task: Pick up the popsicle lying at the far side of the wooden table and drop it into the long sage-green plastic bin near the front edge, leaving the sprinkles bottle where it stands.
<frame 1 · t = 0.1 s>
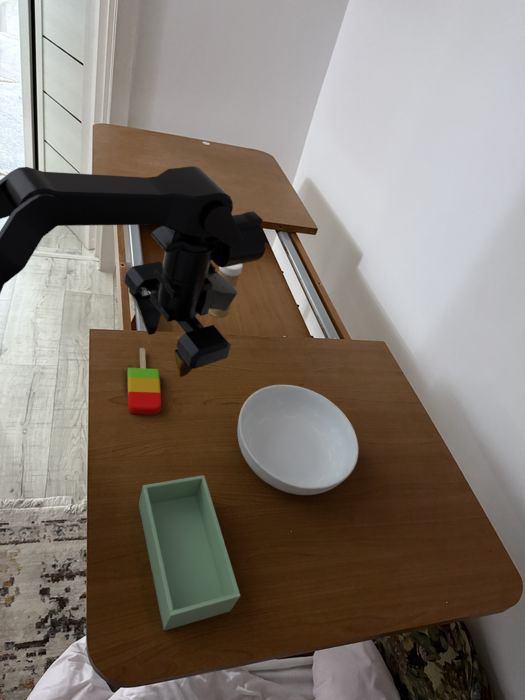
hand: (166, 353, 75), 16 cm above the table, tool pointing down, fingers open, 9 cm apart
serving bowl: (286, 455, 88), on the table
bin: (182, 555, 70), on the table
sprinkles bottle: (217, 312, 110), on the table
popsicle: (142, 382, 90), on the table
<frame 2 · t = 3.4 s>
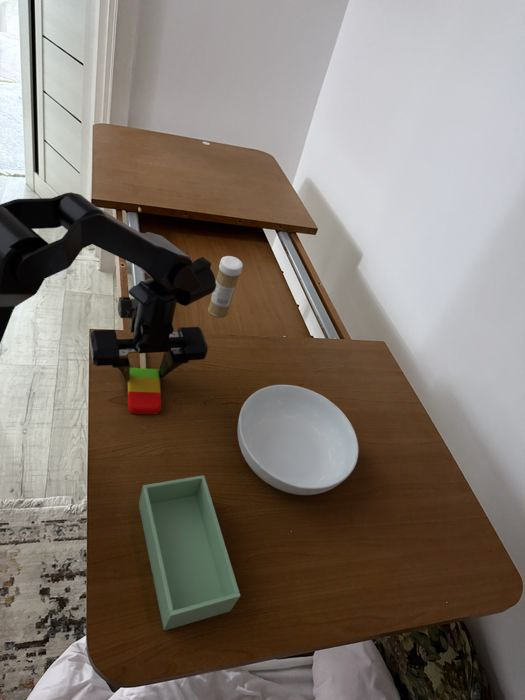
hand: (143, 377, 90), 1 cm above the table, tool pointing down, fingers closed on popsicle, 6 cm apart
popsicle: (142, 382, 90), on the table, touching gripper
everything else where it was.
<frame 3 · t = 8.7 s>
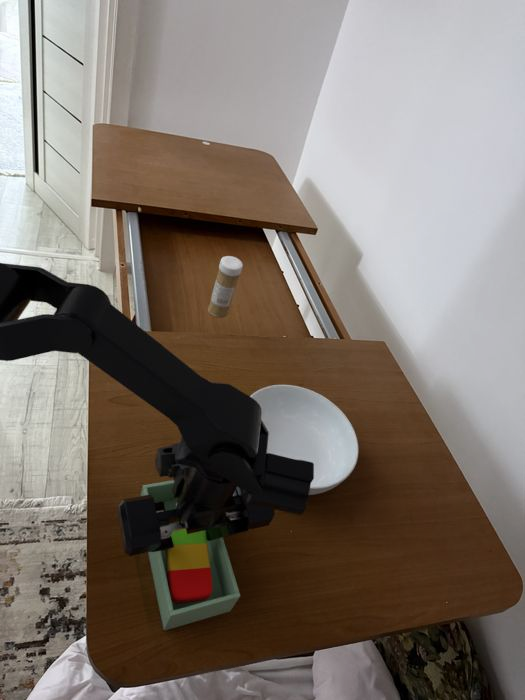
hand: (186, 542, 68), 4 cm above the table, tool pointing down, fingers closed on popsicle, 6 cm apart
popsicle: (184, 545, 69), point 3 cm above the table, touching gripper
everything else where it was.
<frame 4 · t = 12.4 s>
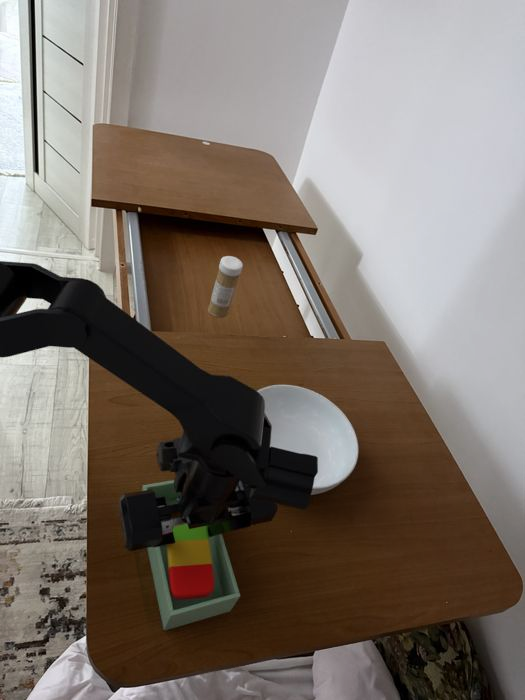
hand: (188, 538, 67), 5 cm above the table, tool pointing down, fingers closed on popsicle, 6 cm apart
popsicle: (186, 541, 68), point 4 cm above the table, touching gripper
everything else where it was.
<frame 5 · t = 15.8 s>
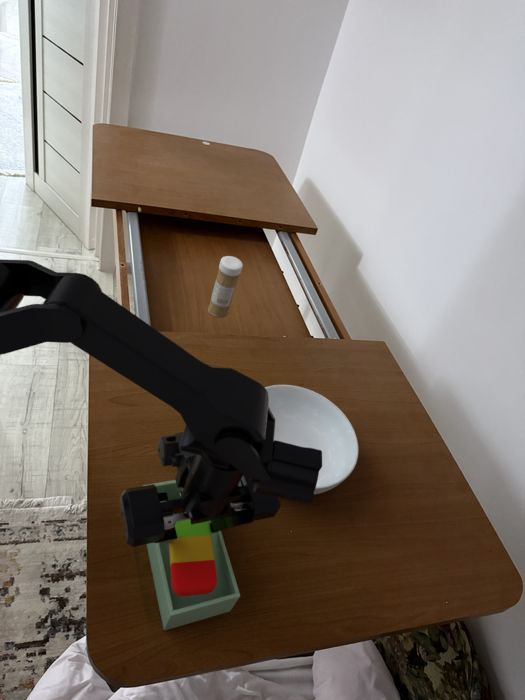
hand: (190, 534, 66), 6 cm above the table, tool pointing down, fingers closed on popsicle, 6 cm apart
popsicle: (188, 538, 67), point 5 cm above the table, touching gripper
everything else where it was.
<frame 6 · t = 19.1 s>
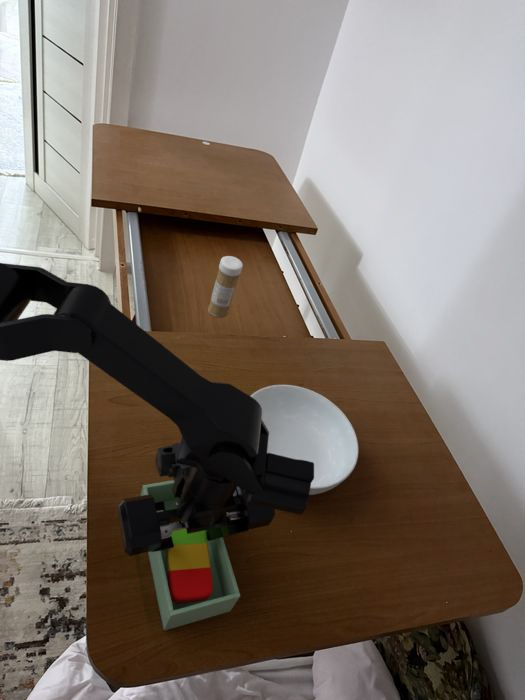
hand: (186, 542, 68), 4 cm above the table, tool pointing down, fingers closed on popsicle, 6 cm apart
popsicle: (185, 545, 69), point 3 cm above the table, touching gripper
everything else where it was.
when the fingers open (7 cm above the table, at t = 22.1 s): popsicle drops 5 cm, resting on bin.
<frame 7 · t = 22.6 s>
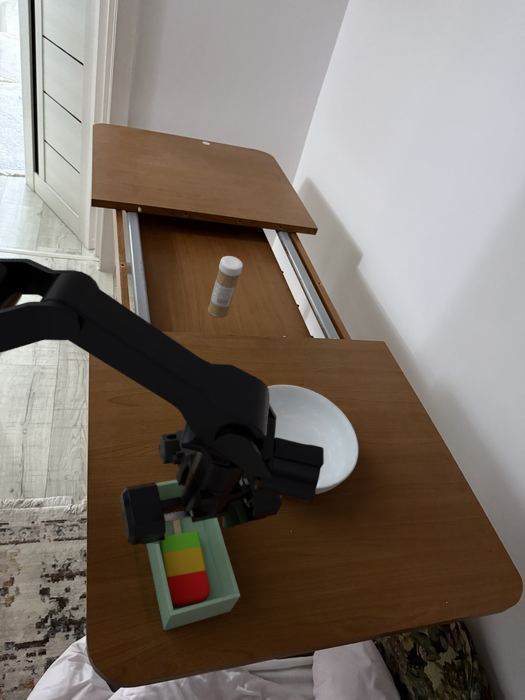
hand: (191, 532, 66), 7 cm above the table, tool pointing down, fingers open, 9 cm apart
popsicle: (179, 551, 70), resting on bin
everything else where it was.
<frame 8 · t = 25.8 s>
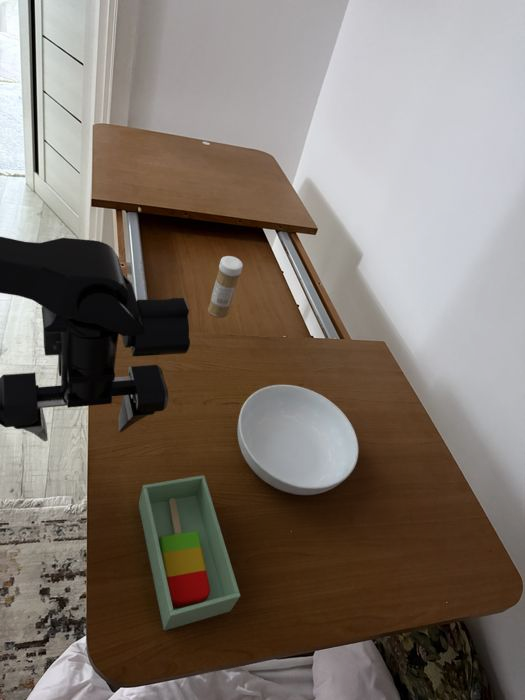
hand: (83, 433, 66), 12 cm above the table, tool pointing down, fingers open, 9 cm apart
nothing on the table moved.
at the end: popsicle inside the target area in the bin (0.6 cm from its centre), point 0.3 cm above the bin's base; the gripper is holding nothing; sprinkles bottle moved 0.2 cm from its start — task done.
